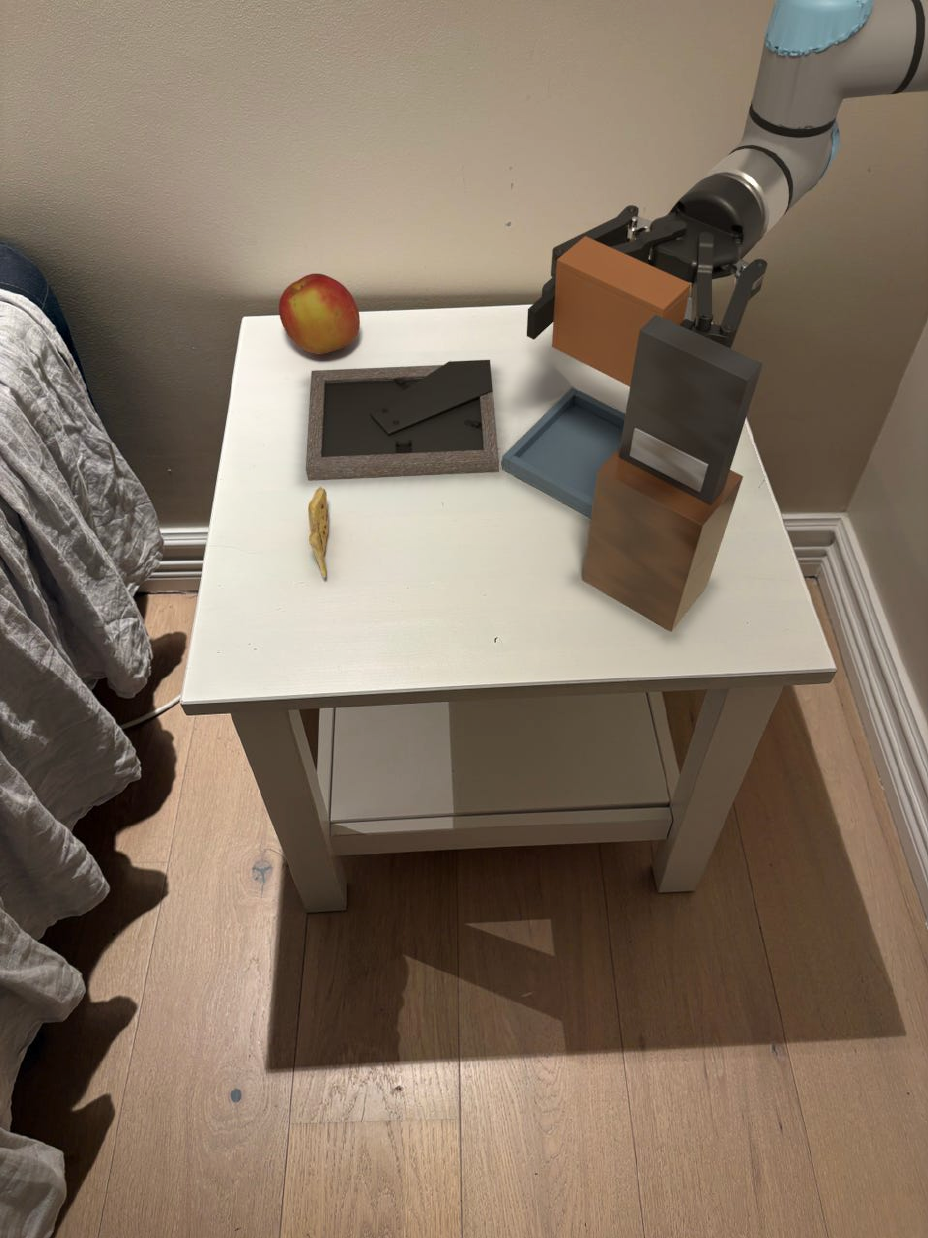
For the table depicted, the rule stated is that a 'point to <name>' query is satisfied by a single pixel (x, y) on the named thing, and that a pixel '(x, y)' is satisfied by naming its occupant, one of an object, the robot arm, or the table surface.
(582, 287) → the orange brown block
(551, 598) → the table surface
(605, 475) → the wooden block with slab
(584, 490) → the tray
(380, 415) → the picture frame
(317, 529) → the pastry
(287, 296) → the apple
